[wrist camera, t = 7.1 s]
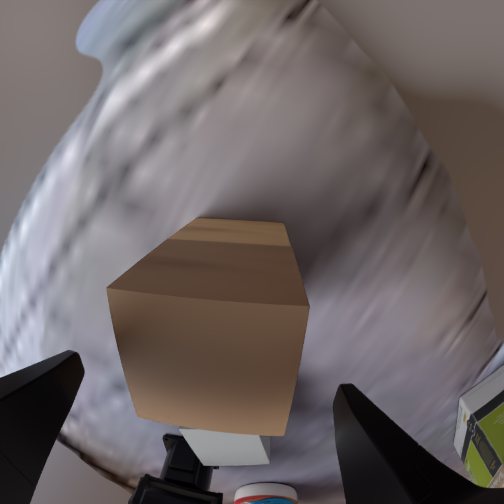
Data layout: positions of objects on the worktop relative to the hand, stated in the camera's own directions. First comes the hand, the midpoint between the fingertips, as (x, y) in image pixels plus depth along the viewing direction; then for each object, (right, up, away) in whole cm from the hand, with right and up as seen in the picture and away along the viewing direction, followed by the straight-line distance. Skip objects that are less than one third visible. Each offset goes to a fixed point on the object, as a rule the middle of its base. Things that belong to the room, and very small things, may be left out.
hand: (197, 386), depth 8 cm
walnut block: (0, +2, +6) cm, 6 cm away
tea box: (+35, -18, +17) cm, 42 cm away
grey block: (0, -10, +16) cm, 19 cm away
